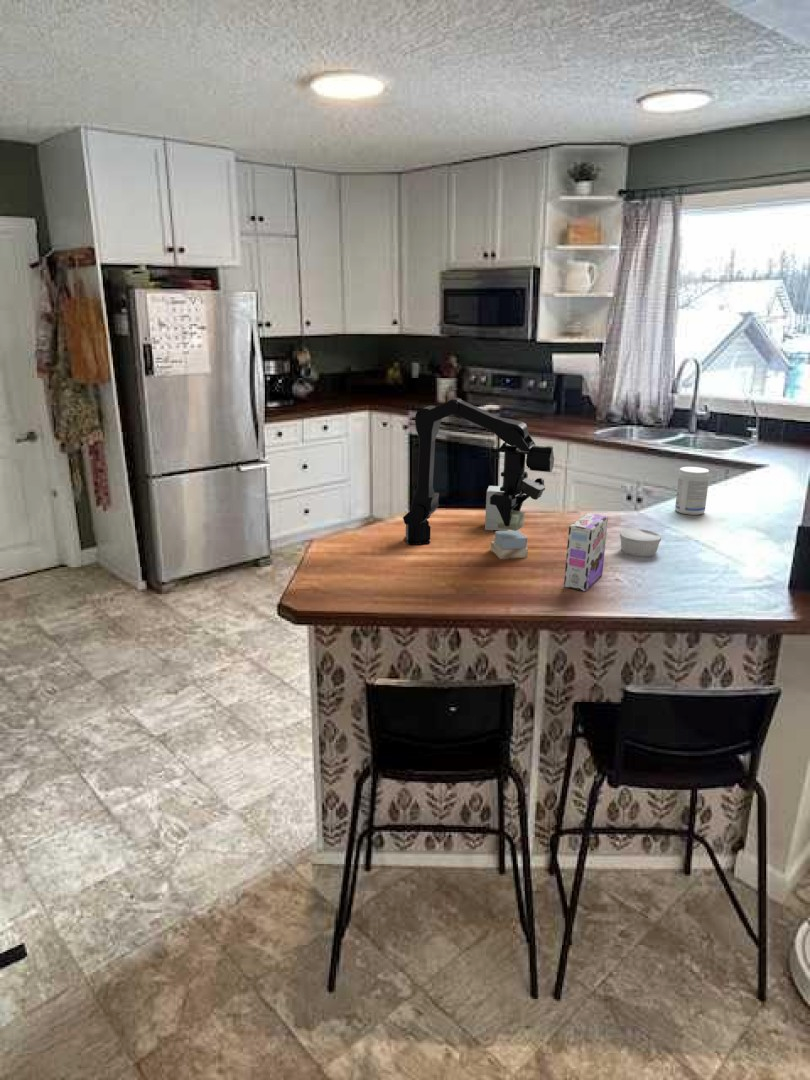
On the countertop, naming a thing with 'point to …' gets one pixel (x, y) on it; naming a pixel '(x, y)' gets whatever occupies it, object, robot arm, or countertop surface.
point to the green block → (512, 521)
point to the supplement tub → (692, 490)
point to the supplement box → (492, 510)
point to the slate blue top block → (510, 539)
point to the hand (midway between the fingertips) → (510, 523)
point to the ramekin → (639, 542)
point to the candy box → (585, 551)
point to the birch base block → (508, 552)
